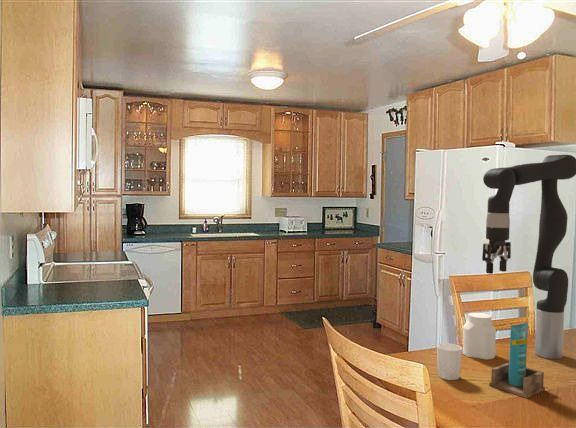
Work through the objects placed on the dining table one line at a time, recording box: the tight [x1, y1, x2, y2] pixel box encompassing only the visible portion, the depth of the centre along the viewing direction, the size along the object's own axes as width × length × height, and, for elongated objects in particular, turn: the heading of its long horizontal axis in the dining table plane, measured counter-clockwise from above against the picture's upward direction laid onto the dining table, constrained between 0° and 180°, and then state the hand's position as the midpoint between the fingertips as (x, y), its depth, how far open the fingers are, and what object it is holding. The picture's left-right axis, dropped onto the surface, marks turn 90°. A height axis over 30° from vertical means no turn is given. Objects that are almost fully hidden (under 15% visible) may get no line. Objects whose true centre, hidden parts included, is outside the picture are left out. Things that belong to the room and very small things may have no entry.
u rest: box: [489, 362, 546, 399], centre depth 160 cm, size 11×12×6 cm
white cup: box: [436, 342, 463, 381], centre depth 169 cm, size 8×8×10 cm
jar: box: [462, 312, 497, 360], centre depth 192 cm, size 12×10×15 cm
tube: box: [508, 322, 529, 387], centre depth 160 cm, size 7×5×19 cm, turn 123°
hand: (496, 272), depth 179 cm, fingers open, 8 cm apart
